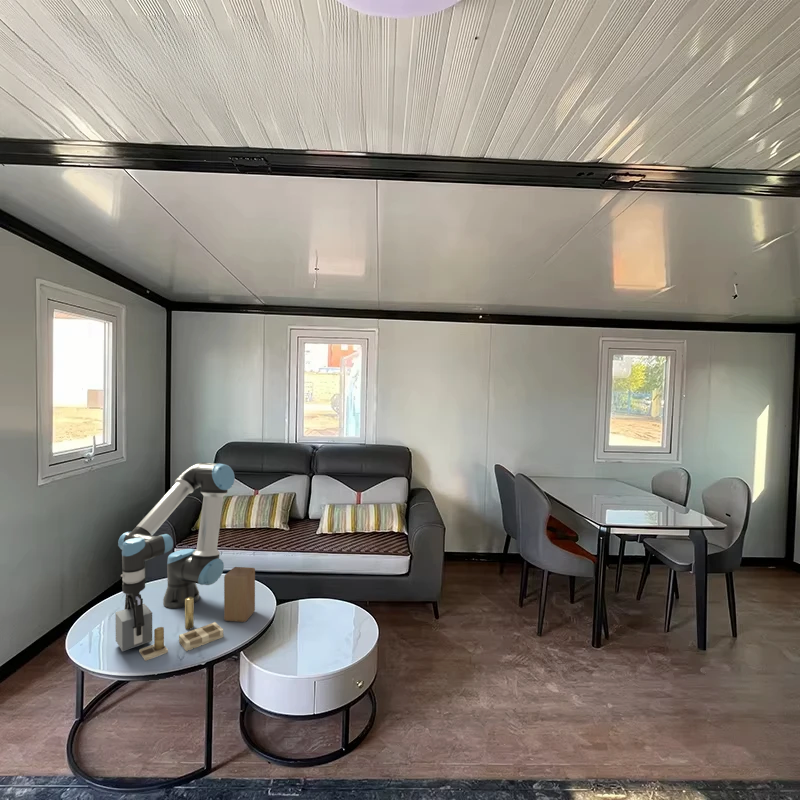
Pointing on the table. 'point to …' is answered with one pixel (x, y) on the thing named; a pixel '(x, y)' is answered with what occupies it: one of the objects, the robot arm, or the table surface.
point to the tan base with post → (155, 646)
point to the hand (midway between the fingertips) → (134, 637)
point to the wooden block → (239, 594)
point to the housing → (126, 628)
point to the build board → (200, 636)
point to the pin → (189, 613)
